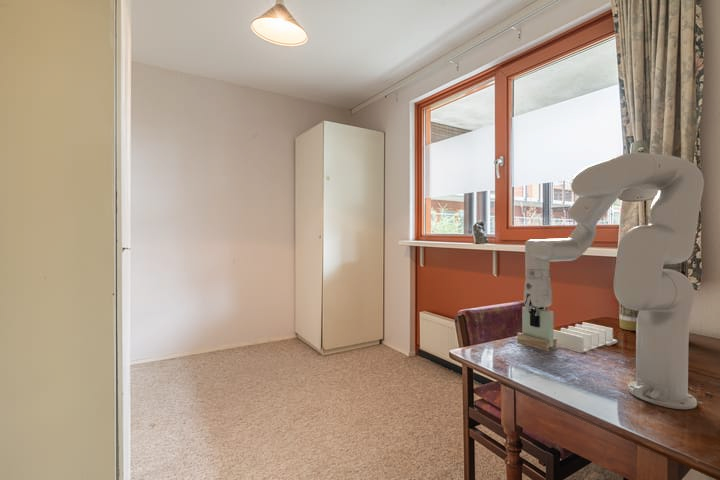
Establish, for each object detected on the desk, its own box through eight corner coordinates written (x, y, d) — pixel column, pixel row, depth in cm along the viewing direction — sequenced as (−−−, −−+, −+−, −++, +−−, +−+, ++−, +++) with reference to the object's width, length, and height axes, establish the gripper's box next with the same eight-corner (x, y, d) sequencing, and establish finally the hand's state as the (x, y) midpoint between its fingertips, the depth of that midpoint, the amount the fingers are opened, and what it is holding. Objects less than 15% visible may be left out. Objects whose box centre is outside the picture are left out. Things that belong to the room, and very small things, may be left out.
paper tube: (641, 329, 139) (641, 269, 138) (640, 332, 134) (640, 271, 133) (620, 325, 143) (621, 268, 143) (618, 329, 138) (619, 269, 138)
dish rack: (580, 355, 109) (581, 339, 109) (548, 345, 119) (548, 330, 118) (617, 342, 121) (617, 327, 121) (584, 334, 131) (584, 321, 131)
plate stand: (547, 353, 111) (547, 342, 111) (515, 343, 121) (515, 332, 121) (559, 350, 114) (559, 338, 114) (526, 340, 125) (526, 329, 125)
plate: (549, 347, 112) (549, 312, 112) (522, 339, 121) (522, 306, 121) (553, 346, 113) (553, 311, 113) (526, 338, 122) (526, 306, 122)
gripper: (533, 276, 110) (533, 331, 110) (560, 273, 118) (561, 325, 118) (513, 274, 116) (513, 326, 116) (540, 271, 124) (540, 320, 124)
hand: (537, 325), depth 117 cm, fingers closed on plate, 2 cm apart
